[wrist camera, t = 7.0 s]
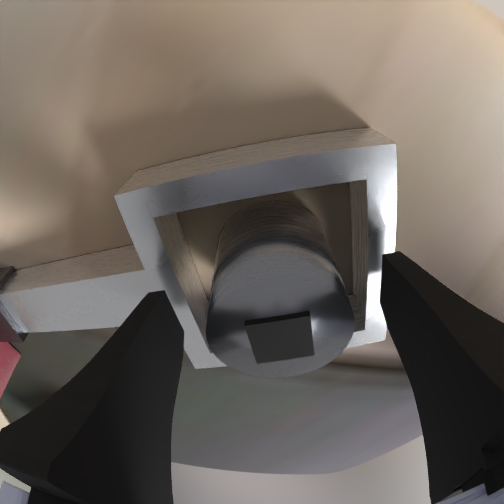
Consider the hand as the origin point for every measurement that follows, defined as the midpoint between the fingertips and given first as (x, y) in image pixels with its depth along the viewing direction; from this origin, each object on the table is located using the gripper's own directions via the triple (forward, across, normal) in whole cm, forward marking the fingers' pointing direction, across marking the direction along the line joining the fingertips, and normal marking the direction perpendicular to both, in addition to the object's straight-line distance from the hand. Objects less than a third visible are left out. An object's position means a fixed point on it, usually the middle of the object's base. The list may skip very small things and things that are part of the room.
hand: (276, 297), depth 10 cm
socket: (+3, 0, 0) cm, 3 cm away
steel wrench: (+3, +6, 0) cm, 7 cm away
